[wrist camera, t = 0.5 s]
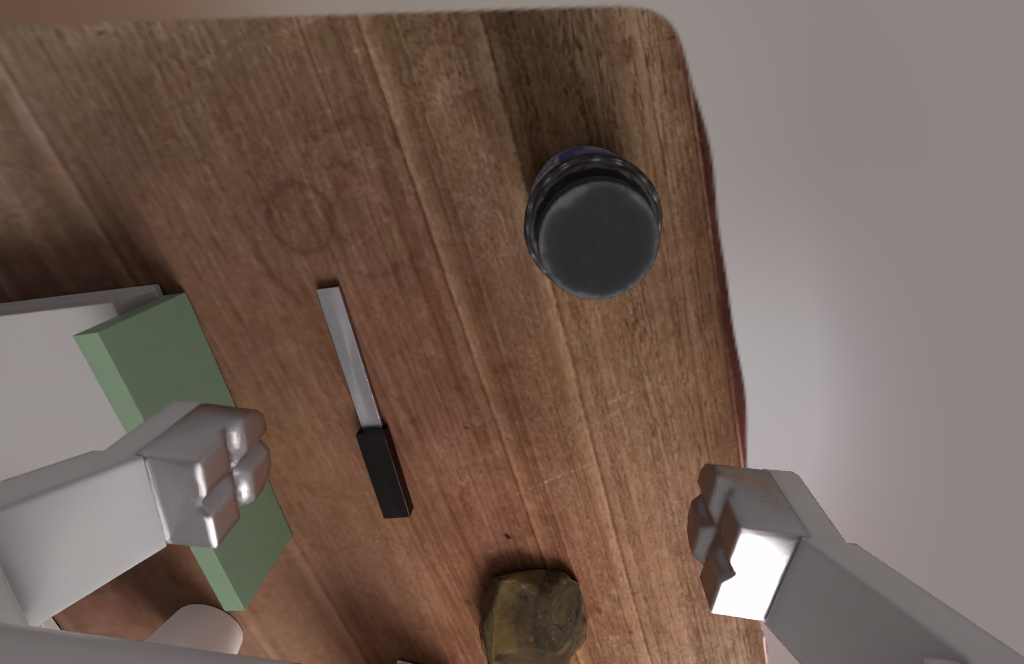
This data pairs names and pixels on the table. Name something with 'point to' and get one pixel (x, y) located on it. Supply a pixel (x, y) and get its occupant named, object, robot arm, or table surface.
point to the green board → (191, 377)
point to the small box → (402, 662)
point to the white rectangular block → (55, 378)
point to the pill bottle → (593, 222)
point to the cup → (200, 630)
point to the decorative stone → (532, 618)
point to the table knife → (366, 409)
